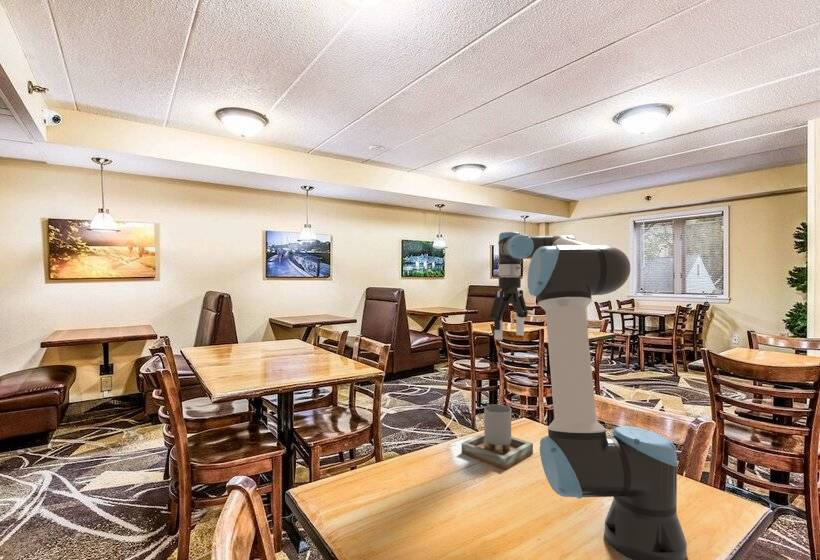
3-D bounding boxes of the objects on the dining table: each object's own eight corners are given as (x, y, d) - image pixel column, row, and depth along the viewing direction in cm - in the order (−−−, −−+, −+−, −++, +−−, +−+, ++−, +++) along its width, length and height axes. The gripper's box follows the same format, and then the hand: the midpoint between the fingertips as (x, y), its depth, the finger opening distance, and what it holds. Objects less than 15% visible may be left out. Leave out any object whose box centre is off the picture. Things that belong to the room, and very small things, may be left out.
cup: (509, 435, 136) (509, 404, 136) (513, 445, 128) (513, 413, 128) (483, 434, 137) (483, 404, 137) (485, 444, 129) (485, 412, 129)
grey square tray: (504, 469, 121) (504, 455, 121) (461, 453, 133) (461, 439, 133) (532, 453, 132) (532, 440, 132) (490, 439, 144) (490, 427, 144)
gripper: (498, 276, 134) (498, 342, 135) (537, 276, 152) (537, 334, 152) (479, 276, 140) (479, 340, 140) (519, 276, 157) (519, 332, 157)
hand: (509, 337), depth 146 cm, fingers open, 13 cm apart
